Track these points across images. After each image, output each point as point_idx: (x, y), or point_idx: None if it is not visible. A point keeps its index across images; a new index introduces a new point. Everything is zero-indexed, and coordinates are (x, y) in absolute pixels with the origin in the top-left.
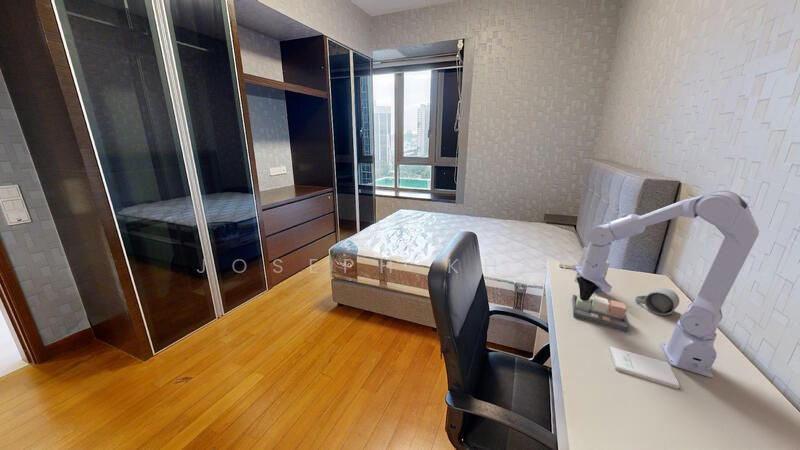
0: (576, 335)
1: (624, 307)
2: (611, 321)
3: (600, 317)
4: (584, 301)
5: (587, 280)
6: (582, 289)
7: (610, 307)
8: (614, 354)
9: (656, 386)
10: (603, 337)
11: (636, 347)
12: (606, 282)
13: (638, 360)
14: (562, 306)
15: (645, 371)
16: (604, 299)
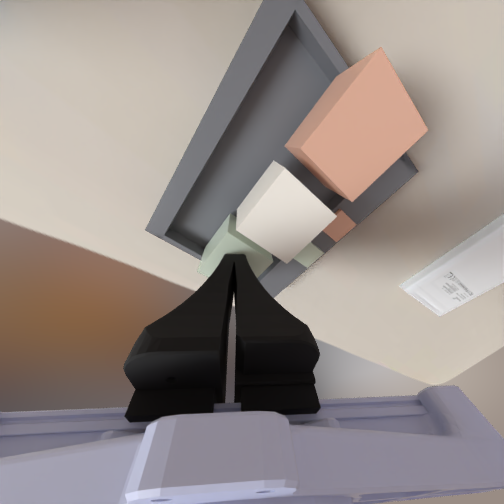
0: (333, 318)
1: (408, 123)
2: (356, 215)
3: (321, 238)
4: None
5: (223, 400)
6: (228, 329)
7: (321, 177)
8: (425, 299)
9: None
10: (369, 270)
11: (451, 210)
12: (450, 483)
13: (478, 266)
14: None
15: (498, 279)
16: (282, 194)
